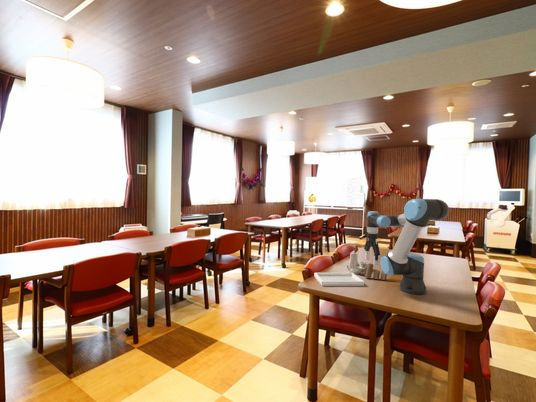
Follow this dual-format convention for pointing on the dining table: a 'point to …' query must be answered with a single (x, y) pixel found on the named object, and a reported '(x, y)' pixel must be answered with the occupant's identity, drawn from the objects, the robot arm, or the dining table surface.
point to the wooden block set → (376, 273)
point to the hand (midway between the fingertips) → (371, 262)
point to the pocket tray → (338, 279)
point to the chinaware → (356, 263)
